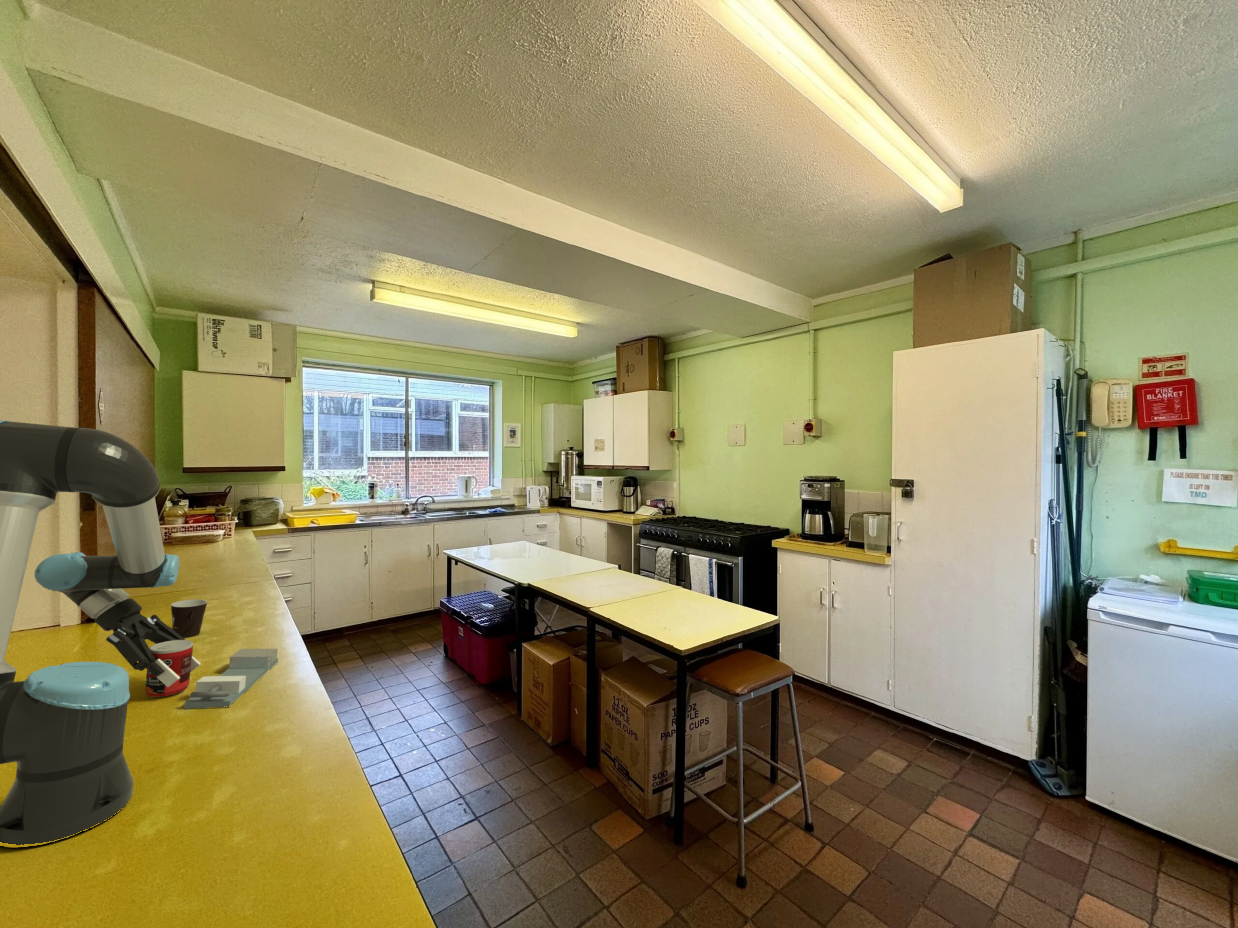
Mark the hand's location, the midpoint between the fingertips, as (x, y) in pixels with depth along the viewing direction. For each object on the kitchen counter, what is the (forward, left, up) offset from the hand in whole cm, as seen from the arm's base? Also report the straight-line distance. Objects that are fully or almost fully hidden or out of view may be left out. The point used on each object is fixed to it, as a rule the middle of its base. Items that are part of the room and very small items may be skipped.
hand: (185, 674), depth 120 cm
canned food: (+1, +3, -4) cm, 5 cm away
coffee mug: (+45, +2, -4) cm, 45 cm away
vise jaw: (+8, -14, -3) cm, 16 cm away
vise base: (0, -10, -4) cm, 11 cm away
